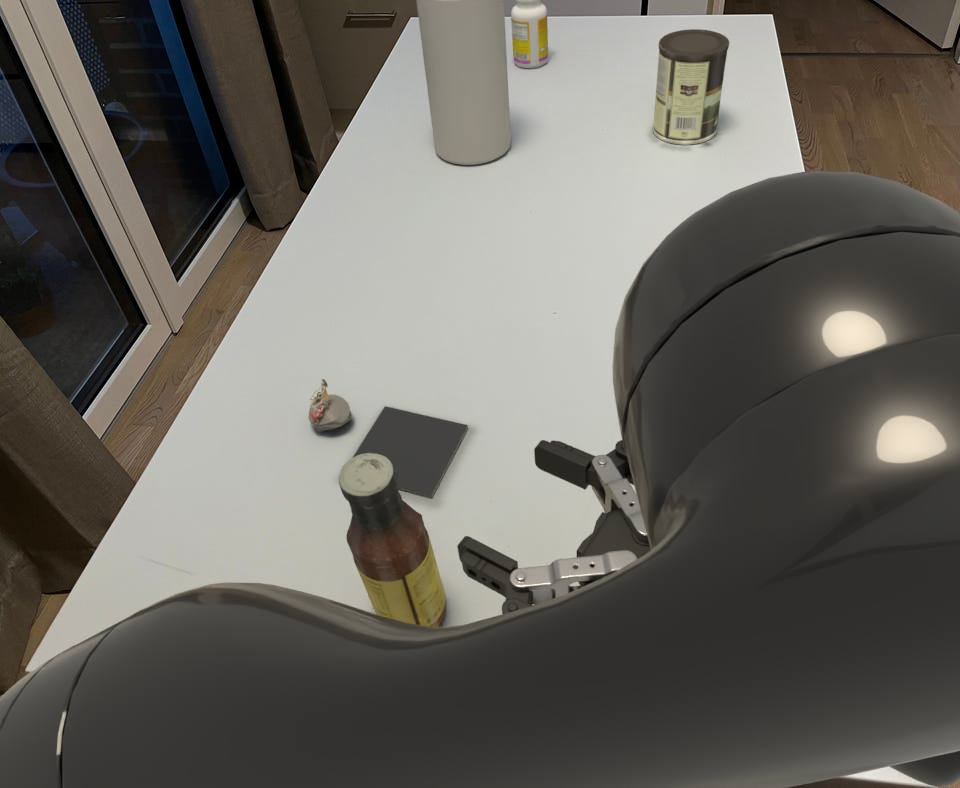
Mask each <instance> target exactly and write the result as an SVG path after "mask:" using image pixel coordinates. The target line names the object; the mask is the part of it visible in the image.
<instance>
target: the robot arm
mask: <svg viewBox="0 0 960 788" xmlns="http://www.w3.org/2000/svg"><path fill="white" fill-rule="evenodd" d="M614 330H615V331H614V341H613V351H612V352H613V353H612V366H611V367H612V383H613V384H612V385H613V393H614V400H615V401H614V402H615V408H616V413H617V421H618V427H619V431H620V436H621V440H618V441H617V442H616V443H615V446H614V449H612V450H611V451H609V452H607V454H598V455H594V454H590V453H588V452H586V451H584V450H581V449H579V448H577V447H574V446H572V445H570V444H567V443H565V442H563V441H561V440H560V441H559V440H550V441H548V440H545V439H542V440H540V441H539V442H538V444H537V445H536V446H535V447H534V449H533V452H534V453H533V454H534V464H535V466H536V467H537V469H539V470H540V471H543V472H545V473H547V474H549V475H552V476H554V477H556V478H559V479H560V480H563V481H565V482H568V483H569V484H572V485H574V486H576V487H577V488H581V489H582V490H587V489H588V487H589V486H591V489H592V491H593V493H594V494H595V496H596V499H597V500H598V502H599V504H600V505H601V507H602V509H603V511H602V512H601V513H600V515H599V516H598V518H597V519H596V520H595V524H594V527H593V531H592V533H590V534H589V535H588V536H587V537H586V538H584V539H583V540H582V541H581V543H580V545H579V546H578V547H577V549H576V557H568V558H558V559H555V560H553V561H552V562H551V563H550V564H548V565H539V566H528V567H527V566H526V567H519V563H518V560H515V559H514V558H512V557H509V556H508V555H507V554H506V555H505V554H504V553H502V552H500V551H499V550H496V549H495V548H493V547H491V546H488V545H486V544H484V543H482V542H480V541H479V540H478V539H477V540H476V539H475V538H473V537H471V536H468V535H464V537H463V538H462V539H461V540H460V542H459V543H458V544H457V546H456V547H457V552H458V553H457V554H458V558H459V561H460V562H461V566H462V572H464V573H465V575H466V576H467V578H469V579H472V580H473V581H475V582H477V583H479V584H481V585H483V586H485V587H486V588H488V589H490V590H492V591H493V592H495V593H498V594H499V595H501V596H503V597H504V598H505V601H503V603H502V605H501V614H498V615H495V616H491V617H488V618H484V619H480V620H476V621H473V622H469V623H466V624H465V623H464V624H461V625H451V626H450V625H449V626H438V627H434V626H423V625H417V624H410V623H406V622H402V621H398V620H394V619H390V618H386V617H382V616H379V615H376V613H373V612H371V611H367V610H364V609H361V608H359V607H355V606H353V605H349V604H346V603H342V602H339V601H336V600H333V599H330V598H326V597H324V596H320V595H317V594H312V593H309V592H305V591H301V590H298V589H294V588H293V589H292V588H289V587H284V586H280V585H275V584H269V583H261V582H218V583H209V584H206V585H203V586H199V587H195V588H191V589H188V590H185V591H181V592H178V593H174V594H172V595H170V596H168V597H165V598H163V599H161V600H159V601H156V602H155V603H154V602H153V604H150V605H148V606H146V607H144V608H142V609H140V610H138V611H136V612H134V613H133V614H131V615H129V616H127V617H126V618H124V619H122V620H120V621H118V622H116V623H114V624H112V625H110V626H109V627H107V628H105V629H102V630H101V631H100V632H97V633H96V634H93V635H91V636H90V637H88V638H86V639H84V640H83V641H80V642H79V643H76V644H74V645H72V646H70V647H69V648H67V649H65V650H64V651H61V652H60V653H58V654H57V655H55V656H53V657H52V658H50V659H49V660H47V661H46V662H44V663H42V664H41V665H39V666H37V667H36V668H34V669H33V670H31V671H30V672H29V673H27V674H26V675H25V676H23V677H22V678H21V679H20V680H18V681H17V682H15V683H14V684H13V685H12V686H11V687H10V688H9V689H8V690H7V691H5V693H3V694H2V695H1V696H0V788H792V787H797V786H802V785H807V784H812V783H817V782H822V781H827V780H833V779H838V778H842V777H843V778H844V777H847V776H853V775H857V774H862V773H865V772H870V771H875V770H879V769H884V768H888V767H889V768H891V769H892V770H895V771H897V772H898V773H900V774H903V775H904V776H907V777H908V778H911V779H912V780H914V781H917V782H920V783H923V784H925V785H927V786H932V787H936V788H944V787H950V786H953V785H954V784H957V783H958V782H959V781H960V212H958V211H957V210H955V209H954V208H952V207H951V206H949V205H947V204H946V203H945V202H943V201H941V200H939V199H937V198H935V197H934V196H931V195H929V194H926V193H924V192H922V191H919V190H917V189H915V188H913V187H911V186H908V185H906V184H904V183H901V182H899V181H897V180H894V179H890V178H885V177H881V176H875V175H871V174H867V173H861V172H857V171H851V170H807V171H801V172H795V173H788V174H784V175H783V174H782V175H778V176H772V177H768V178H766V179H762V180H760V181H757V182H754V183H752V184H750V185H746V186H744V187H740V188H737V189H735V190H732V191H730V192H728V193H726V194H725V195H723V196H721V197H720V198H718V199H716V200H714V201H712V202H711V203H709V204H707V205H705V206H704V207H702V208H701V209H699V210H697V211H695V212H694V213H693V214H691V215H690V216H688V217H687V218H686V219H684V220H683V221H681V222H680V224H678V225H677V226H676V227H675V228H674V229H672V231H670V232H669V233H668V234H667V235H665V237H664V238H663V240H662V241H661V242H660V243H659V244H658V245H657V246H656V248H655V249H654V250H653V251H652V252H651V253H650V255H649V256H648V257H647V258H646V260H645V261H644V262H643V263H642V265H641V267H640V269H639V270H638V272H637V273H636V276H635V277H634V280H633V281H632V283H631V285H630V286H629V288H628V290H627V292H626V294H625V296H624V299H623V302H622V305H621V309H620V312H619V316H618V319H617V322H616V325H615V329H614ZM633 486H634V488H633ZM574 583H578V585H572V584H574Z"/></svg>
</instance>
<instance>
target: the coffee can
mask: <svg viewBox="0 0 960 788" xmlns="http://www.w3.org/2000/svg"><path fill="white" fill-rule="evenodd" d="M729 46H730V40H729V38H728V37H726V36H725V34H722V33H720V32H717V31H714V30H708V29H700V28H699V29H698V28H697V29H694V28H693V29H692V28H691V29H681V30H676V31H672V32H669V33H667V34H665V35H664V36H662V37H660V38H659V41H658V60H657V61H658V62H657V74H656V89H655V101H654V113H653V125H652V133H653V135H654V136H655V137H657V139H659V140H661V141H663V142H666V143H669V144H673V145H681V146H682V145H683V146H684V145H686V146H687V145H696V144H701V143H704V142H708V141H709V140H711V139H713V138H714V137H715V136H716V134H717V132H718V122H719V114H720V106H721V99H722V91H723V83H724V76H725V70H726V63H727V55H728V50H729Z"/></svg>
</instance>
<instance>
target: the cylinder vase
mask: <svg viewBox="0 0 960 788" xmlns="http://www.w3.org/2000/svg"><path fill="white" fill-rule="evenodd" d="M415 2H416V10H417V16H418V17H417V18H418V25H419V33H420V41H421V49H422V56H423V57H422V58H423V65H424V73H425V81H426V89H427V97H428V104H429V112H430V113H429V114H430V121H431V129H432V136H433V144H434V150H435V153H436V154H437V155H438V156H439V157H440V159H442V160H444V161H446V162H449V163H450V164H455V165H460V166H462V165H463V166H475V165H482V164H487V163H489V162H490V163H491V162H492V161H494V160H497V159H499V158H501V157H502V156H503V155H505V153H506V152H508V150H509V148H510V146H511V145H512V134H511V132H512V131H511V116H510V114H511V112H510V94H509V75H508V74H509V73H508V56H507V38H506V37H507V35H506V17H505V16H506V15H505V0H416V1H415Z"/></svg>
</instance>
